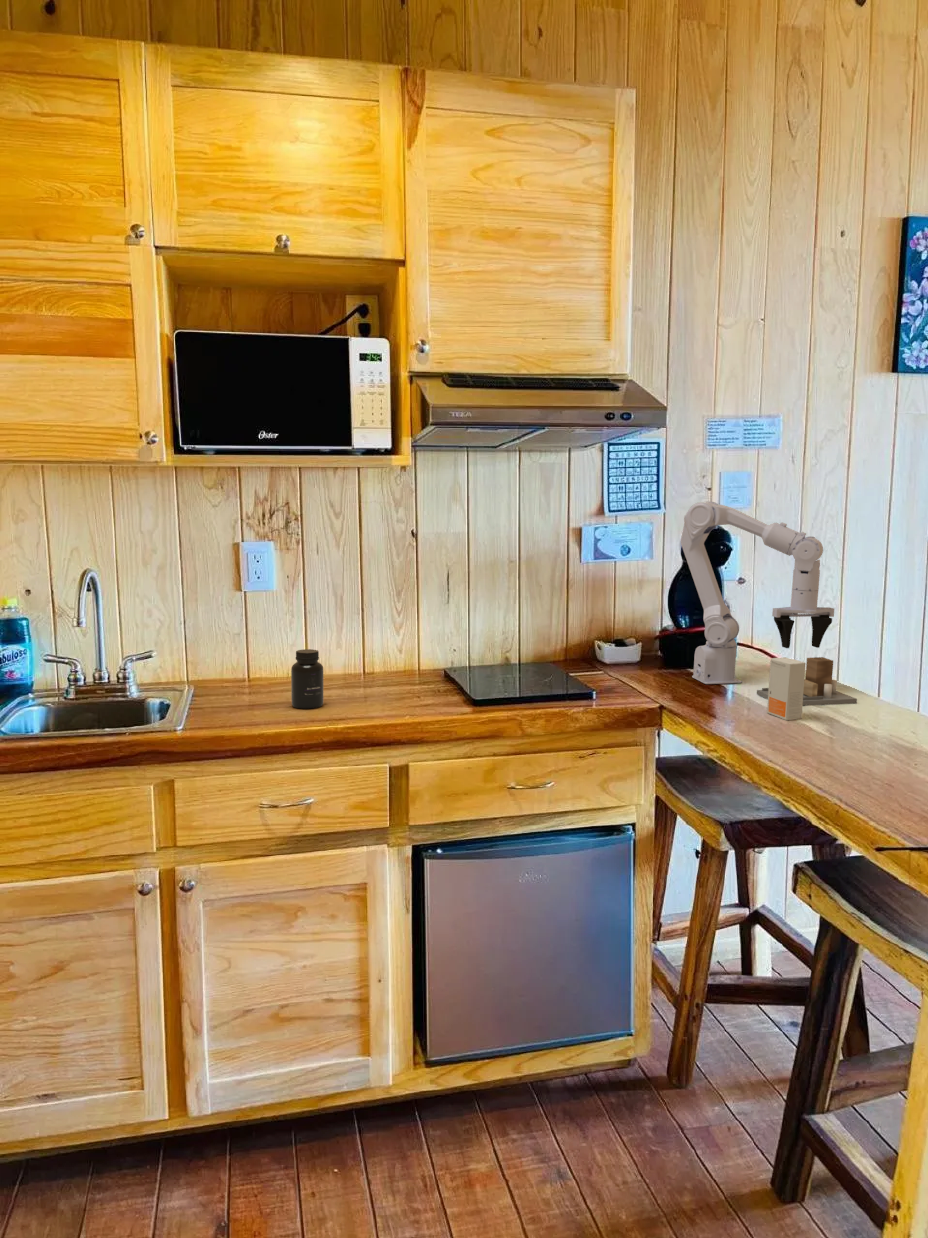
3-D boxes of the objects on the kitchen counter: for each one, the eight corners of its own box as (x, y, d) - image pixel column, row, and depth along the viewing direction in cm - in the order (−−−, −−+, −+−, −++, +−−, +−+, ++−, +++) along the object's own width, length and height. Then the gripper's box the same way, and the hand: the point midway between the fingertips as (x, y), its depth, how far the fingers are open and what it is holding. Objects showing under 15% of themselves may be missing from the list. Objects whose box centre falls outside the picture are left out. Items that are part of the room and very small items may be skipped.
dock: (782, 706, 189) (783, 688, 188) (756, 694, 200) (757, 677, 199) (856, 703, 192) (857, 685, 192) (827, 691, 203) (828, 674, 202)
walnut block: (814, 696, 194) (817, 661, 193) (804, 692, 198) (806, 657, 197) (830, 695, 195) (833, 660, 194) (820, 691, 199) (822, 657, 198)
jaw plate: (811, 697, 192) (812, 684, 191) (792, 689, 199) (792, 676, 199) (816, 697, 192) (817, 684, 191) (796, 689, 200) (797, 676, 199)
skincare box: (765, 713, 183) (769, 658, 181) (781, 711, 185) (785, 656, 183) (786, 721, 177) (790, 663, 176) (802, 719, 179) (806, 662, 177)
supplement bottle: (313, 711, 182) (312, 655, 180) (285, 707, 185) (284, 652, 183) (329, 703, 189) (328, 649, 187) (302, 700, 191) (301, 647, 189)
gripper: (785, 592, 195) (781, 651, 197) (843, 591, 198) (838, 649, 200) (769, 588, 202) (765, 645, 204) (826, 587, 205) (821, 644, 207)
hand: (800, 647), depth 203 cm, fingers open, 7 cm apart
